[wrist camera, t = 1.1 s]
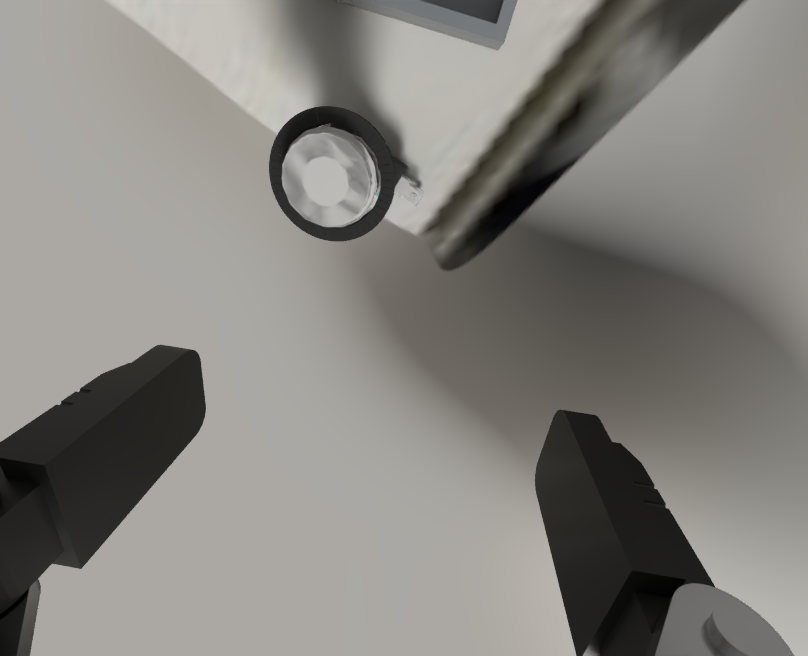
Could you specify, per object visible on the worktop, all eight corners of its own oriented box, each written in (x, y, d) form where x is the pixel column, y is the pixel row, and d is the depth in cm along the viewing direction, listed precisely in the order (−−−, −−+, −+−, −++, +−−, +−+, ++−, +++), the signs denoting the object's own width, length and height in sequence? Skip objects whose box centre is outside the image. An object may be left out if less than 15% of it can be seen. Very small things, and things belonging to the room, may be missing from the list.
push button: (445, 160, 24) (446, 183, 16) (397, 231, 27) (375, 287, 18) (351, 89, 23) (296, 72, 14) (309, 171, 25) (239, 199, 17)
